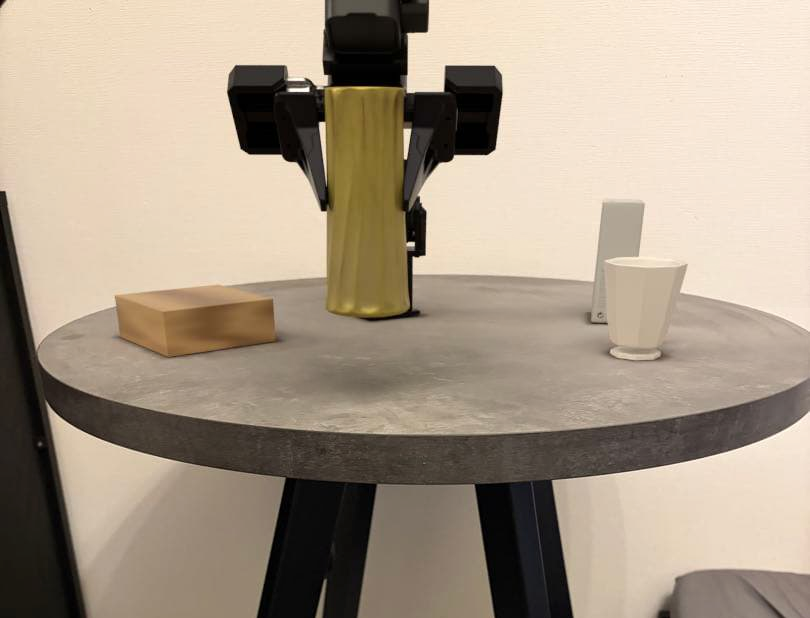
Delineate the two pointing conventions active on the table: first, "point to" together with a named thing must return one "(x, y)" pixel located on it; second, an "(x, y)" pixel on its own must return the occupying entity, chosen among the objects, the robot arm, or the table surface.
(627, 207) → the cosmetic box
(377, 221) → the vase
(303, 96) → the robot arm
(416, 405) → the table surface
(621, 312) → the cup
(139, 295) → the oak block
